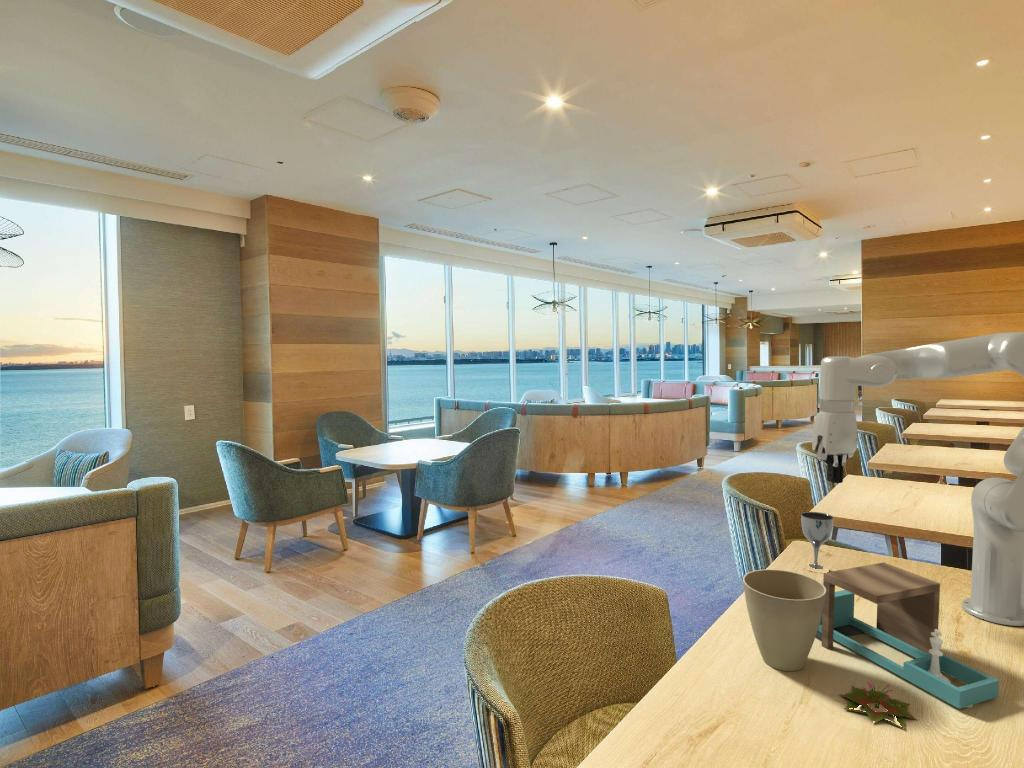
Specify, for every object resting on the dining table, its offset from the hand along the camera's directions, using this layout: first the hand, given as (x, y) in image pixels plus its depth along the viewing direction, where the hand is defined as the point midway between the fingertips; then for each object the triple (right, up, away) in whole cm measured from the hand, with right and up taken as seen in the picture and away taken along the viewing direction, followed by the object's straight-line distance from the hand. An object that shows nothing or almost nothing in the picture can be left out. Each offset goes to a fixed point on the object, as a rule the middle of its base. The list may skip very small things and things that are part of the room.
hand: (834, 481), depth 144 cm
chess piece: (0, -32, -34) cm, 47 cm away
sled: (-3, -30, -27) cm, 41 cm away
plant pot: (-26, -31, -27) cm, 49 cm away
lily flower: (-16, -33, -42) cm, 56 cm away
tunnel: (-6, -30, -19) cm, 36 cm away
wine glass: (+6, -28, +21) cm, 35 cm away
